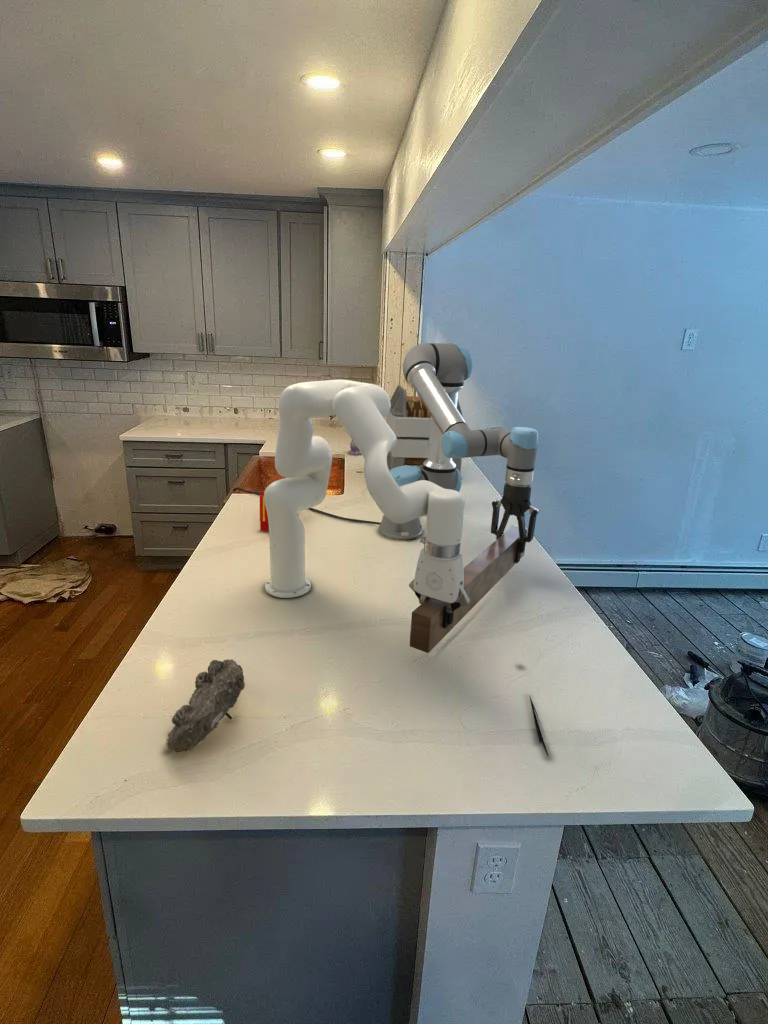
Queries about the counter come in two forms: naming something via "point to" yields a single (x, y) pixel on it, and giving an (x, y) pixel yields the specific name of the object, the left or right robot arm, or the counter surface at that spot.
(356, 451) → the figurine
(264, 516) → the toy
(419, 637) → the post
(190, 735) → the fossil
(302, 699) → the counter surface
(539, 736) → the feather
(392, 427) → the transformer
